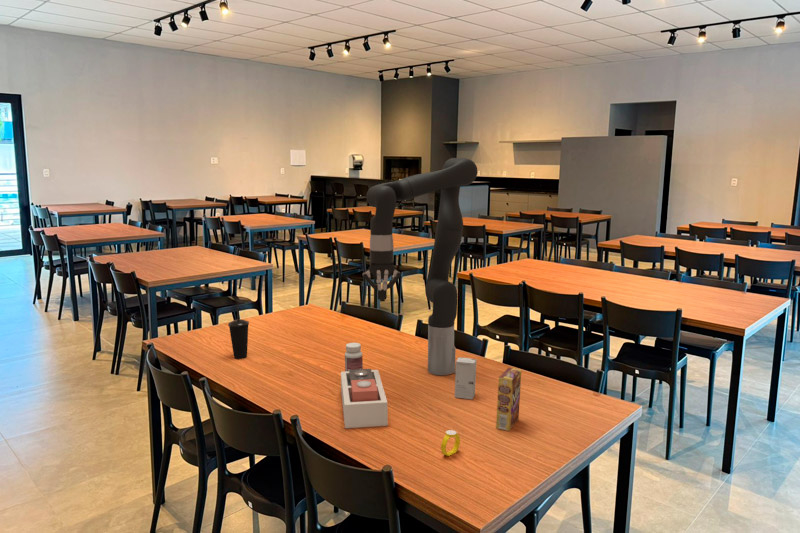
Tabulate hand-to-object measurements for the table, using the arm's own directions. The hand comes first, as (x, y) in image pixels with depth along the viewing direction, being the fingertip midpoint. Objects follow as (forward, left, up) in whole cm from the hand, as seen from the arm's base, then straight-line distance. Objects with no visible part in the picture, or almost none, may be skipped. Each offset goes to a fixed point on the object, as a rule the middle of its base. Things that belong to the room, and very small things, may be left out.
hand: (382, 300), depth 184 cm
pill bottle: (+9, -10, -29) cm, 32 cm away
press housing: (+8, +17, -29) cm, 35 cm away
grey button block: (+8, +11, -28) cm, 31 cm away
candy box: (-32, +34, -29) cm, 55 cm away
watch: (-12, +48, -29) cm, 58 cm away
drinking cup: (+51, -36, -29) cm, 69 cm away
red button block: (+8, +23, -26) cm, 36 cm away
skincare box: (-25, +13, -29) cm, 41 cm away
